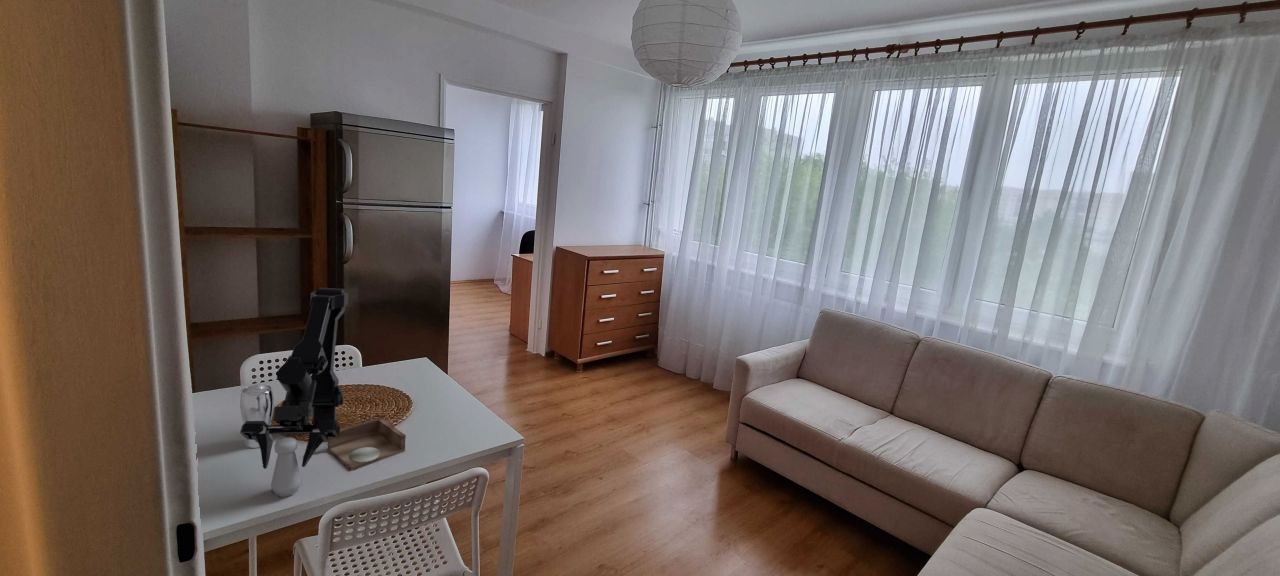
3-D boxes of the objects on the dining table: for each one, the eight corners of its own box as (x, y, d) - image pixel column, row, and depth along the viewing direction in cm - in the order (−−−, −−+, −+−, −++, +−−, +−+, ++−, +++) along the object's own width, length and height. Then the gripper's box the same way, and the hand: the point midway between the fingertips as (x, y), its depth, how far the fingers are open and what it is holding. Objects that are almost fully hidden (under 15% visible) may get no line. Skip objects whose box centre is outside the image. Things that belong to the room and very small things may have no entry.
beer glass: (280, 440, 140) (279, 388, 136) (254, 452, 133) (252, 397, 130) (262, 433, 142) (260, 381, 138) (235, 444, 135) (232, 390, 132)
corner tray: (327, 449, 138) (327, 432, 137) (380, 432, 150) (380, 417, 149) (351, 470, 131) (351, 453, 130) (404, 451, 142) (405, 435, 141)
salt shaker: (286, 502, 117) (285, 449, 114) (264, 496, 118) (263, 443, 115) (307, 487, 123) (307, 437, 120) (286, 481, 124) (286, 431, 121)
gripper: (242, 388, 116) (221, 460, 108) (337, 388, 122) (324, 456, 114) (256, 405, 125) (239, 472, 117) (344, 404, 131) (333, 468, 123)
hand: (284, 467), depth 118 cm, fingers open, 7 cm apart
